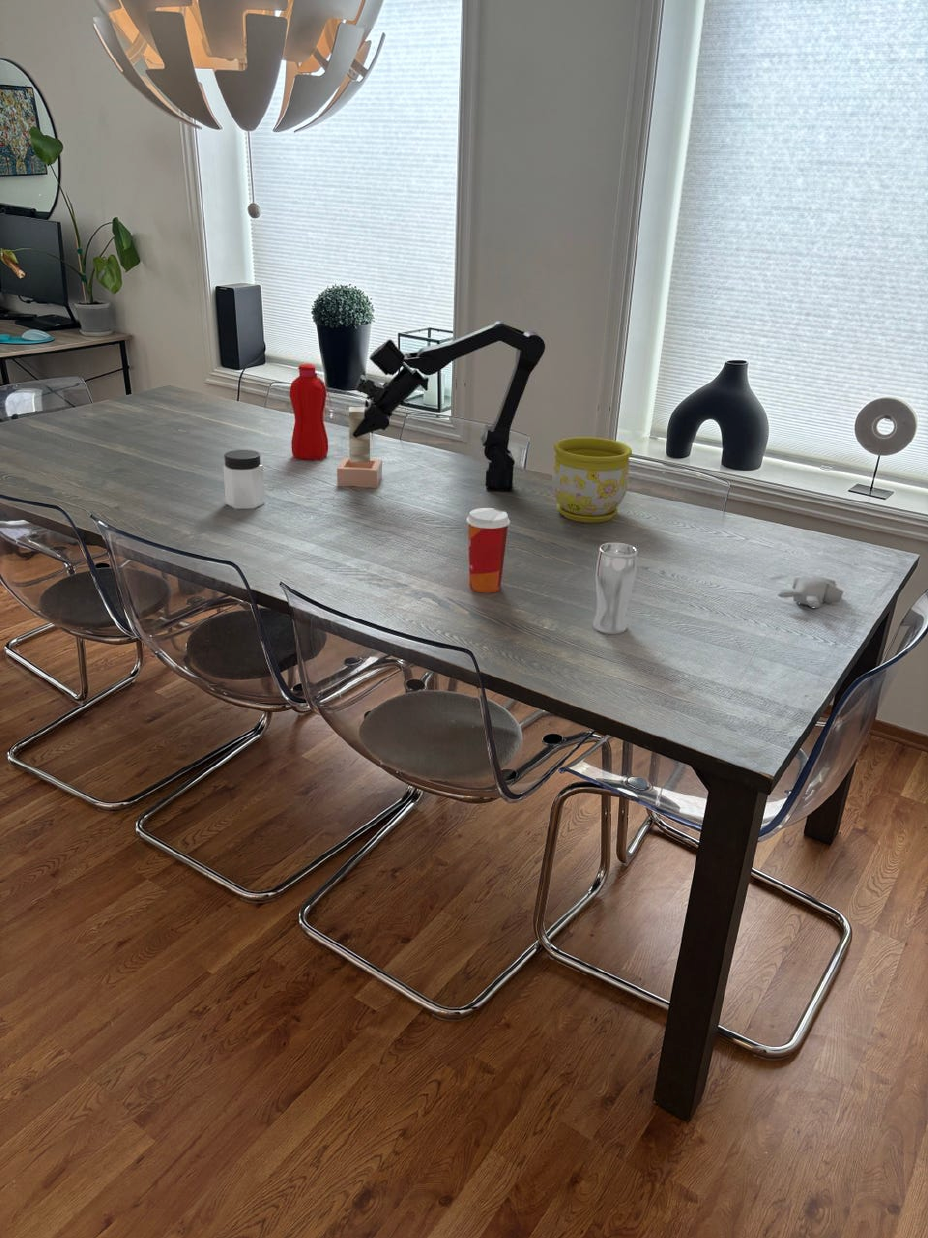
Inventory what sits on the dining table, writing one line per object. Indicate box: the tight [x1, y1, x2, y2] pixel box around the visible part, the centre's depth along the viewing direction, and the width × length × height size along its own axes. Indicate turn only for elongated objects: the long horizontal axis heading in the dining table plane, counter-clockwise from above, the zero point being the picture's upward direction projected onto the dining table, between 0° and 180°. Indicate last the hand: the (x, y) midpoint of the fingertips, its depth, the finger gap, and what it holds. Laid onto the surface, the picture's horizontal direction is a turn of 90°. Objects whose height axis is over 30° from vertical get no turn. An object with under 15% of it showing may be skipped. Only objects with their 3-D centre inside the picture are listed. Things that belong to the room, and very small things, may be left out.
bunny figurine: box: [777, 574, 844, 609], centre depth 183 cm, size 10×5×15 cm
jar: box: [222, 449, 266, 510], centre depth 222 cm, size 9×8×12 cm
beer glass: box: [592, 542, 638, 635], centre depth 168 cm, size 7×7×15 cm
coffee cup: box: [466, 507, 511, 594], centre depth 182 cm, size 8×8×15 cm
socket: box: [336, 457, 383, 489], centre depth 243 cm, size 10×10×4 cm
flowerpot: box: [551, 436, 633, 524], centre depth 223 cm, size 18×18×16 cm
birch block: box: [348, 406, 371, 462], centre depth 234 cm, size 5×5×12 cm
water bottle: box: [288, 363, 332, 461], centre depth 257 cm, size 9×11×25 cm
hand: (354, 433), depth 234 cm, fingers closed on birch block, 5 cm apart
